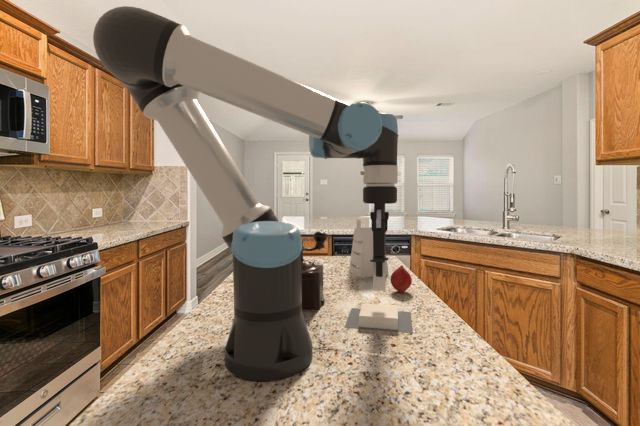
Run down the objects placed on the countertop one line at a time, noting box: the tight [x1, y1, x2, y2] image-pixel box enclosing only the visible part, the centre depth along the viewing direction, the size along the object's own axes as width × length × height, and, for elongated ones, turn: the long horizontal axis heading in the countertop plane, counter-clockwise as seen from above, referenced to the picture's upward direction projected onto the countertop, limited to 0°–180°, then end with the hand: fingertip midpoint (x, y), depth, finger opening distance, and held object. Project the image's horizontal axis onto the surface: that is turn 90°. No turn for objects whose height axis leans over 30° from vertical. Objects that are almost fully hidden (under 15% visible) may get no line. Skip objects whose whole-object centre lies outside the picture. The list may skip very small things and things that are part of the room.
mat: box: [343, 307, 414, 334], centre depth 76 cm, size 12×14×1 cm
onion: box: [390, 265, 413, 294], centre depth 96 cm, size 6×6×8 cm
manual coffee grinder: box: [301, 230, 328, 311], centre depth 89 cm, size 16×11×18 cm
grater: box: [348, 215, 390, 278], centre depth 119 cm, size 10×10×20 cm
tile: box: [359, 303, 399, 330], centre depth 74 cm, size 2×8×8 cm
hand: (379, 289), depth 77 cm, fingers closed
